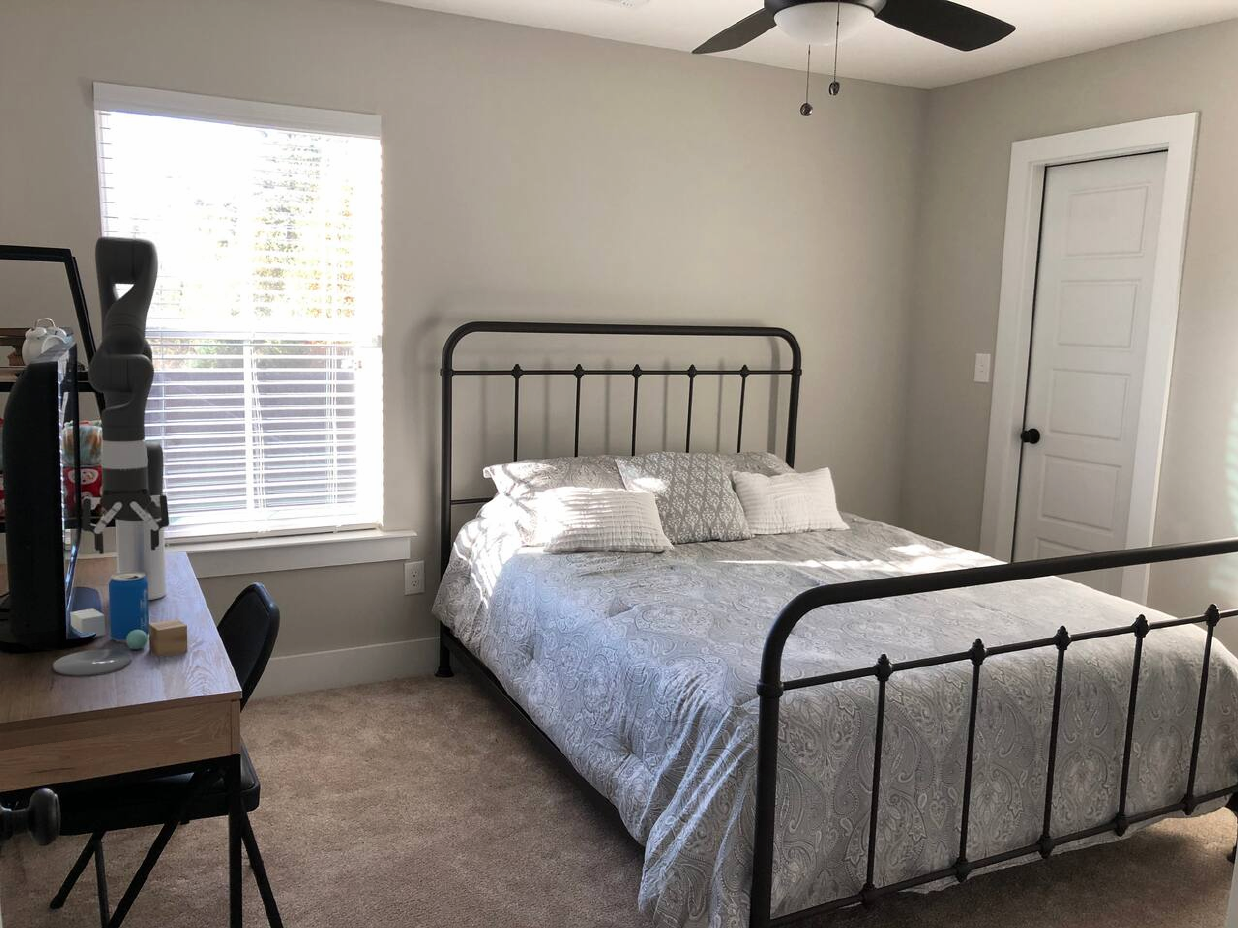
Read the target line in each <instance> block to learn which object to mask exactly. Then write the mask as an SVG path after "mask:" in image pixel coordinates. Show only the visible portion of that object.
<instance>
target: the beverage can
mask: <svg viewBox="0 0 1238 928" xmlns="http://www.w3.org/2000/svg"><path fill="white" fill-rule="evenodd" d="M108 593H109V595H108V596H109V597H108V598H109V603H108V604H109V626H110V627H109V629H110V630H109V631H110V637H111V639H112V640H113V639H114V640H115V641H116V642H118V643H124V644H125V643H126V638H127V636H128V634H129V633H130V632H132V631H134V630H142V631H144V632H145V633H146V635H147V636H149V623H150V620H149V619H150V616H149V614H150V613H149V610H150V609H149V600H148V581H147V579H146V578H145V574H144V573H140V572H125V573H119V574H118V573H115V574H113V575H111V576H110V581H109V583H108ZM126 644H127V643H126Z"/></svg>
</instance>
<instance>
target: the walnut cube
mask: <svg viewBox="0 0 1238 928" xmlns="http://www.w3.org/2000/svg"><path fill="white" fill-rule="evenodd" d="M148 647H149V651H150V652H151V653H152V654H154V655H155V656H156V657H157V658H161V657H167V656H173V655H179V654H185V653H188V625H187V624H185V623H184V622H183V621H181V620H180V619H178V618H175V619H168V620H162V621H157V622H149V634H148Z"/></svg>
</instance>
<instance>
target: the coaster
mask: <svg viewBox="0 0 1238 928" xmlns="http://www.w3.org/2000/svg"><path fill="white" fill-rule="evenodd" d="M132 661H133V655H132V654H131V653H130V652H127V651H125V650H122V649H121V650H120V649H110V648H109V649H108V648H107V649H104V648H103V649H92V650H86V651H78V652H75V653H70V654H67V655H65V656H62V657H60V658H58V659H57V660H56V661H54V663H53V672H55V673H57V674H60V675H64V676H71V677H82V676H83V677H84V676H85V677H87V676H94V675H95V676H96V675H102V674H107V673H111V672H115V671H118V670H121V669H124V668H126V667H128V666H129V665H130V664H131V663H132Z"/></svg>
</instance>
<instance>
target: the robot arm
mask: <svg viewBox="0 0 1238 928" xmlns="http://www.w3.org/2000/svg"><path fill="white" fill-rule="evenodd" d="M94 248H95V250H94V261H95V271H96V279H97V280H96V281H97V289H98V296H99V297H98V298H99V306H100V307H99V308H100V317H101V319H100V322H101V342H100V345H99V346H98V347H97V349H96V351H95V352H94V354H93V356H92V358H91V361H90V363H89V366H88V370H87V379H88V382H89V384H90V385H91V387H92V388H93V389H94V390H95V391H96V392H98V393H103V394H104V401H105V409H103V410H102V411H101V418H100V421H101V437H102V438H101V448H100V449H101V450H100V453H101V454H100V465H101V487H102V488H101V490H102V491H101V492H102V493H101V496H100V497H90V496H87V495H86V496H84V497H83V504H82V530H83V531H85V532H91V533H93V536H94V549H95V551H96V552H97V551H99V553H98V554H100V555H103V554H104V551H105V550H104V532H103V530H104V529H105V527H106V526H107V525H109V523H110V522H111V521H112V519H114V520H115V533H116V534H115V537H116V559H117V560H116V563H117V564H116V565H117V566H116V567H117V574H119V573H125V572H140V573H144V574H145V578H146V579H147V581H148V601H151V600H152V601H153V600H157V599H160V598H164V596H166V595H167V594H166V593H167V590H166V589H167V588H166V587H167V585H166V583H167V582H166V548H165V547H166V546H165V541H166V540H165V527H169V526H170V516H169V515H170V514H169V506H168V497H167V494H166V493H164V489H163V488H164V465H165V464H164V463H165V462H164V459H165V458H164V450H163V447H162V445H161V444H160V443H159V442H157V441H146V427H145V424H146V423H145V417H146V416H145V415H146V406H147V403H148V398H149V395H150V391H151V387H152V385H153V381H154V377H155V368H154V363H153V350H152V348H151V345H150V343H149V342H148V340H147V338H146V330H147V320H148V319H147V318H148V313H149V310H150V306H151V302H152V299H153V295H154V291H155V287H156V282H157V277H158V271H159V259H158V251H157V247H156V245H155V243H154V242H153V241H152V240H150V239H147V238H140V237H139V238H138V237H127V236H126V237H122V236H108V235H105V236H103V235H102V236H100V237H99V238H97V240H96V243H95V247H94ZM116 285H131V287H130V289H129V290H128V291H126V292H125V293H123V295H122V296H121V297H119V293H118V289H117V286H116ZM98 504H99V505H100V506H101V507H102V508H103V509H104V510H105V512H104V513H103V515H102V516H101V518H100V519H99V520H98V522H97V523H96V524H94V523H91V517H92V516H91V514H92V513H91V511H92V510H95V509H96V507H97V505H98Z"/></svg>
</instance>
